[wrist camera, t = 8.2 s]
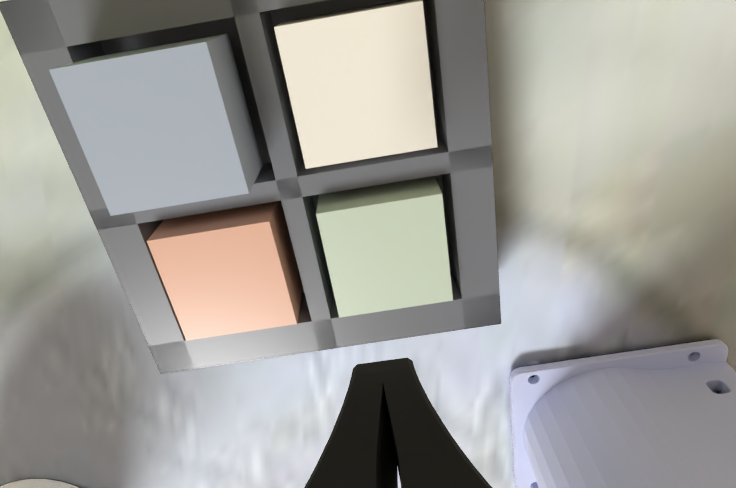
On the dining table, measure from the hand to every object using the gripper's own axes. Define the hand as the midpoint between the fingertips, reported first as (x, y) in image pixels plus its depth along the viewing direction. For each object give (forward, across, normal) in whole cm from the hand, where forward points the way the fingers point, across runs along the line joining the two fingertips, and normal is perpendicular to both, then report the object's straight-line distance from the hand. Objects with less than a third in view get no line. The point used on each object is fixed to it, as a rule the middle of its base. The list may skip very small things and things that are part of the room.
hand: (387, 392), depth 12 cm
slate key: (+7, +5, -6) cm, 10 cm away
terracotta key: (+8, +5, -1) cm, 9 cm away
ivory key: (+8, 0, -6) cm, 10 cm away
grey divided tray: (+9, +2, -3) cm, 10 cm away
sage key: (+8, 0, -1) cm, 8 cm away
